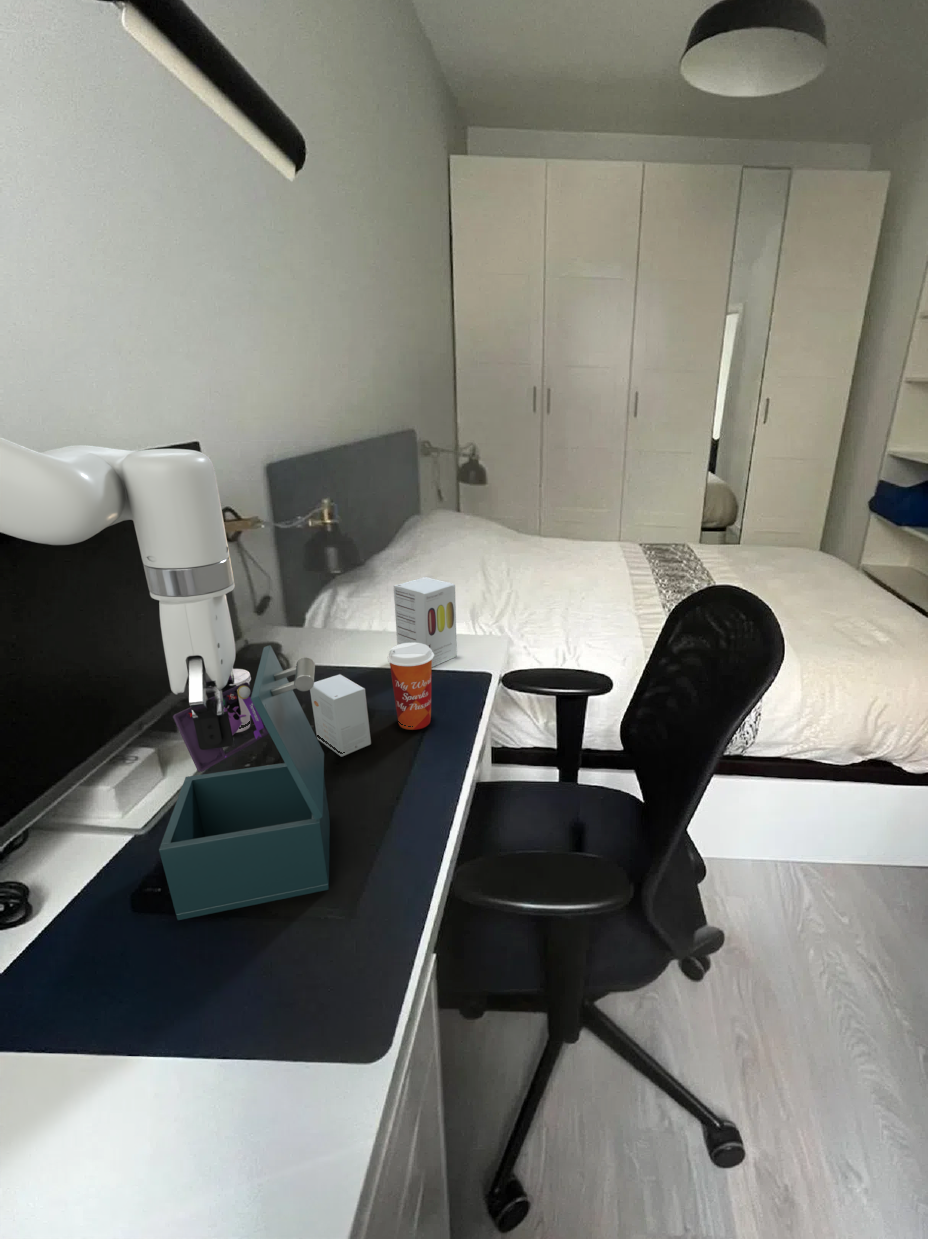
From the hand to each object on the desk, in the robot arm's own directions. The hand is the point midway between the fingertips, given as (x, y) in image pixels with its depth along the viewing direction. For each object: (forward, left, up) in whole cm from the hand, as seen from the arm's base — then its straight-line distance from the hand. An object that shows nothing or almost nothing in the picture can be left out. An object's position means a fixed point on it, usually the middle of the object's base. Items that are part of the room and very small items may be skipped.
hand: (221, 730), depth 70 cm
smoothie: (-33, +17, -20) cm, 42 cm away
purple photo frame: (-1, 0, -3) cm, 3 cm away
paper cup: (-11, +37, -20) cm, 44 cm away
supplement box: (-30, +58, -20) cm, 68 cm away
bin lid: (+4, +5, -1) cm, 7 cm away
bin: (+1, +1, -19) cm, 19 cm away
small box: (-15, +25, -20) cm, 35 cm away
